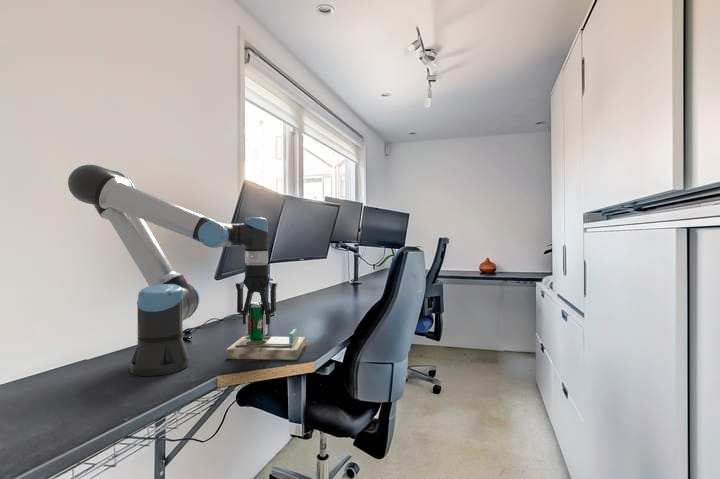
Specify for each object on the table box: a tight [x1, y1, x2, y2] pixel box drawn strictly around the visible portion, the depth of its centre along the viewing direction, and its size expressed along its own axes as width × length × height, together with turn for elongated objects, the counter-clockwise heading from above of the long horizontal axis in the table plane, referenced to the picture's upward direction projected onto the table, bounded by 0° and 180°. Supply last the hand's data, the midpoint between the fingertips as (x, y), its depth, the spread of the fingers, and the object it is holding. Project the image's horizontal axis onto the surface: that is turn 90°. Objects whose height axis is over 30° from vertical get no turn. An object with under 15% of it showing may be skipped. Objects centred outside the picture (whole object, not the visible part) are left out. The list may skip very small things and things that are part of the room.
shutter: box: [265, 328, 299, 347], centre depth 130 cm, size 9×9×4 cm
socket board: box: [226, 335, 306, 361], centre depth 130 cm, size 22×16×4 cm
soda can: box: [248, 301, 266, 341], centre depth 130 cm, size 5×5×12 cm
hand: (256, 334), depth 130 cm, fingers closed on soda can, 5 cm apart
